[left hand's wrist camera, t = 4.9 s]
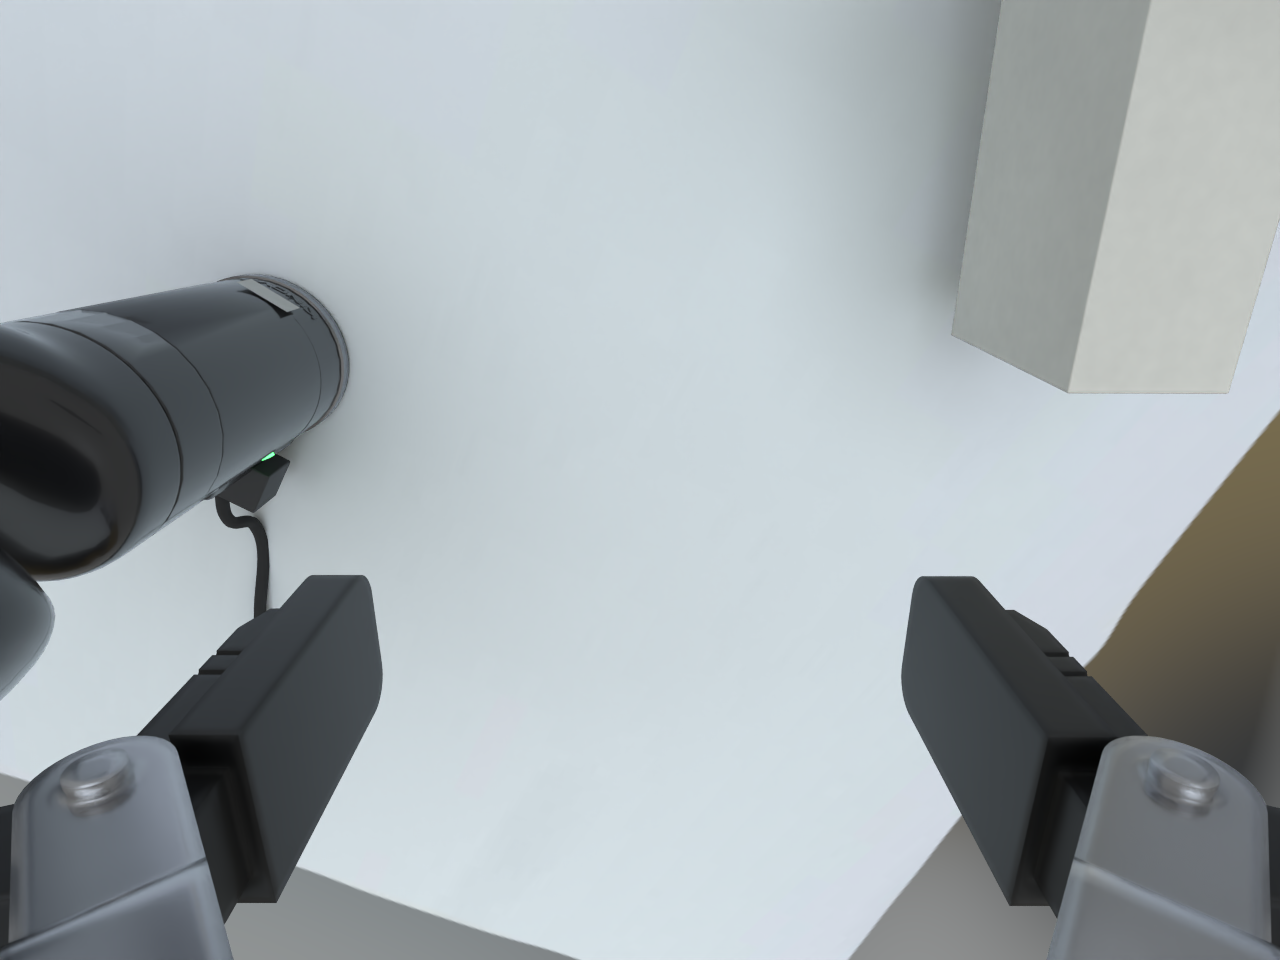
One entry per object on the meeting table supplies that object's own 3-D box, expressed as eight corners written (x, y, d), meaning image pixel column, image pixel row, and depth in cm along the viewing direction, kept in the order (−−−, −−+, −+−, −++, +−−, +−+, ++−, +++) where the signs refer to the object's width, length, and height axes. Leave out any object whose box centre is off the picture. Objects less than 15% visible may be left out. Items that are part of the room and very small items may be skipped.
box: (1066, 335, 38) (1229, 393, 27) (950, 335, 38) (1067, 393, 27) (1199, -304, 29) (1517, -587, 18) (1046, -303, 29) (1275, -583, 18)
